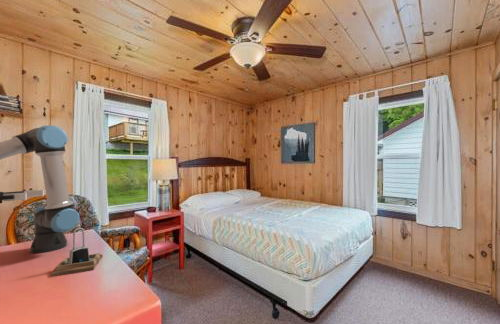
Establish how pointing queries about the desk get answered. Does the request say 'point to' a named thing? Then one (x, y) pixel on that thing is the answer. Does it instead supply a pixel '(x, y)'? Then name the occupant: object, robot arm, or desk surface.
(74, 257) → the padlock
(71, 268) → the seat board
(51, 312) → the desk surface
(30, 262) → the desk surface
